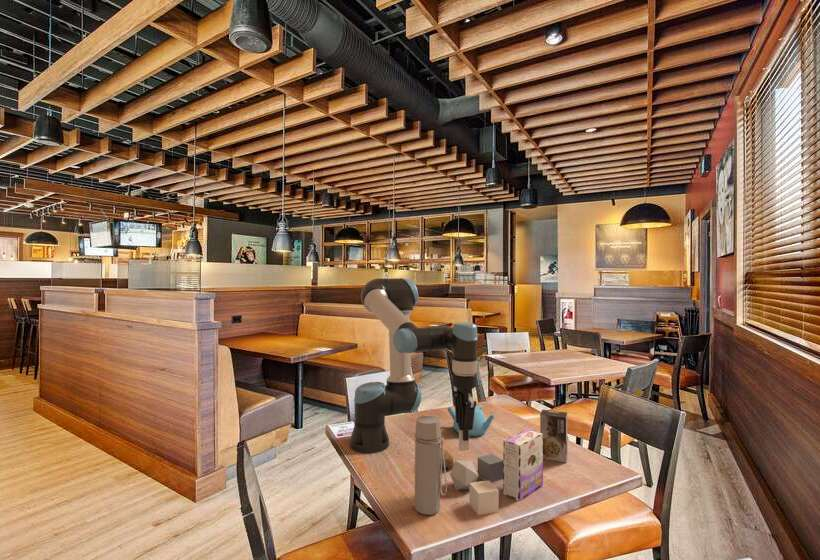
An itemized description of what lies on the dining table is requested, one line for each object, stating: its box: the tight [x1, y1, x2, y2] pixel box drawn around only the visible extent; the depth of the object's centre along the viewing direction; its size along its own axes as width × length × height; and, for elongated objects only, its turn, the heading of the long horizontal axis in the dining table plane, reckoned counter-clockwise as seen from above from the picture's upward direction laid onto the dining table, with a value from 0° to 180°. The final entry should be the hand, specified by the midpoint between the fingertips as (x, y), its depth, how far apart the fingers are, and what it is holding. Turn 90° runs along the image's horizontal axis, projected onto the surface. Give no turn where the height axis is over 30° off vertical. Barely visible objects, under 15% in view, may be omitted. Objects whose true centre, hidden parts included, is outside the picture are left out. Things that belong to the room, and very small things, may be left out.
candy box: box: [502, 428, 544, 502], centre depth 125 cm, size 14×6×16 cm, turn 133°
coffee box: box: [539, 409, 569, 463], centre depth 149 cm, size 9×6×16 cm
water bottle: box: [414, 415, 448, 516], centre depth 114 cm, size 9×8×25 cm
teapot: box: [447, 404, 496, 437], centre depth 175 cm, size 15×17×11 cm
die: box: [449, 459, 479, 491], centre depth 127 cm, size 8×9×10 cm
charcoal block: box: [477, 453, 503, 484], centre depth 133 cm, size 6×6×6 cm
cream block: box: [469, 480, 500, 516], centre depth 115 cm, size 6×6×6 cm
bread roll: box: [440, 447, 455, 474], centre depth 141 cm, size 10×10×8 cm
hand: (463, 449), depth 127 cm, fingers closed
